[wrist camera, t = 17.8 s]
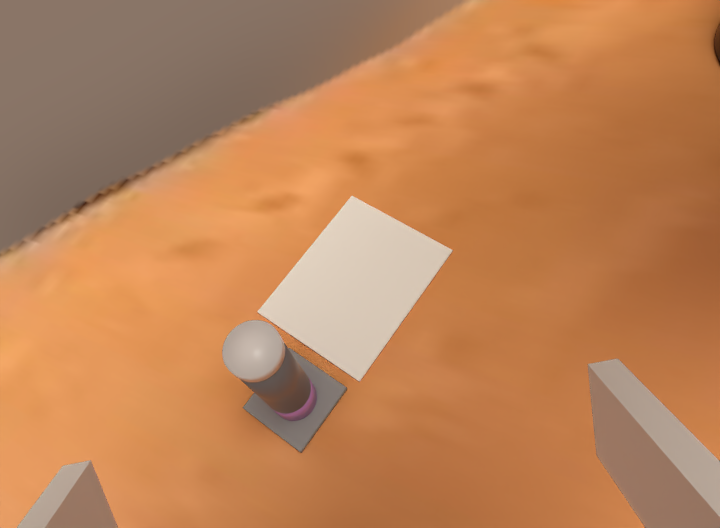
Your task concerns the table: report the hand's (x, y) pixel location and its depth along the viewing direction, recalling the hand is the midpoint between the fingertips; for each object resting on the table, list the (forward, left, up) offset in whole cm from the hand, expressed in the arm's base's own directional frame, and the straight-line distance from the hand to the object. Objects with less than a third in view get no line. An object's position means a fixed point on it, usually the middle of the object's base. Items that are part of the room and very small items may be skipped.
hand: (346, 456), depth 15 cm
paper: (-13, -14, -30) cm, 36 cm away
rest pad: (-2, -12, -30) cm, 32 cm away
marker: (-2, -12, -29) cm, 32 cm away
